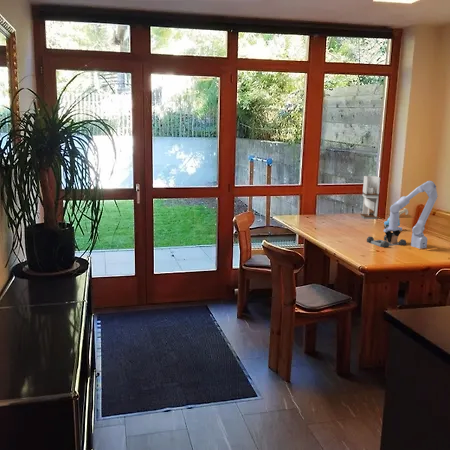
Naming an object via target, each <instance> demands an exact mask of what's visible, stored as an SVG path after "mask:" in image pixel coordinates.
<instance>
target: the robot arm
mask: <svg viewBox="0 0 450 450" xmlns="http://www.w3.org/2000/svg"><path fill="white" fill-rule="evenodd" d="M424 192H425V193H426V195H427V197H428V198H427V201H426V203H425V205H424V208H423V209H422V212H421V213H420V216H419V218H418V220H417V222H416V224H415V225H414V226H413V227H412V228H411V230H412V231H411V239H410V247H413V248H417V249H418V251H420V250H423V249H428V247H427V246H428V237H427V236H426V235H425V234H424V231H425V230H426V229H425V225H426V223H427V220H428V219H429V216H430V214H431V212H432V211H433V210H432V209H433V208H434V206H435V203H436V201H437V200H438V197H439V195H438V191H437V185H436V184H435V182H434V181H432V180H427V181H425V182H423V183H422V184H421V185H419V186H417V187H416V188H414V189H413V190H412V191H411V192H409V194H408V195H406V196H405V195H403V196H401V197H399V199H398V200H397V201H394V203H393V204H391V205H390V207H389V211H390V212H389V217H390V219H389V227H388V228H386V229H385V228H383V233H384V234H385V235H386V236H387V241H388V242H391V237H392V234H393V233H394V234H395V235H396V236H398V237H399V236H400V235H401V233H402V231H403V227H400V226H398V220H400V215H399V211H401V210H403V209H404V208H405V207H406V206H407V205H408V204H410V200H412V199H413V198H414V197H416V196H417V195H418V194H419V193H424Z"/></svg>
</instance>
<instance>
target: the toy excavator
mask: <svg viewBox="0 0 450 450" xmlns="http://www.w3.org/2000/svg"><path fill="white" fill-rule="evenodd" d="M404 213H405V214H404ZM402 214H404V215H406V216H407V215H408V214H409V210H408V208H405V207H403V209H400V211H399V216H400V215H402ZM389 219H390V216H389V217H388V218H387V220H385V221H384V222H383V229H386V228H388V227H389ZM400 224H401V223H400V219H399V220H398V227H400Z"/></svg>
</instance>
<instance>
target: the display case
mask: <svg viewBox="0 0 450 450" xmlns="http://www.w3.org/2000/svg"><path fill="white" fill-rule="evenodd" d="M380 182H381V177H379V176H377V175H364V176H363V186H362V195H361V196H362V197H363V201H362V213H361V214H360V217H361V218H362V219H364V220H367V219H368V220H377V218H378V207H379V196H380V186H381V183H380Z"/></svg>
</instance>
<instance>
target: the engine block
mask: <svg viewBox="0 0 450 450" xmlns="http://www.w3.org/2000/svg"><path fill="white" fill-rule="evenodd" d="M392 233H393V232H392ZM398 238H399V236H396V235H395V234H394V233H393V234H392V237H391V242H389V243H391V244H396V243H397V242H398V241H399V240H398ZM387 242H388V241H387Z"/></svg>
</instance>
